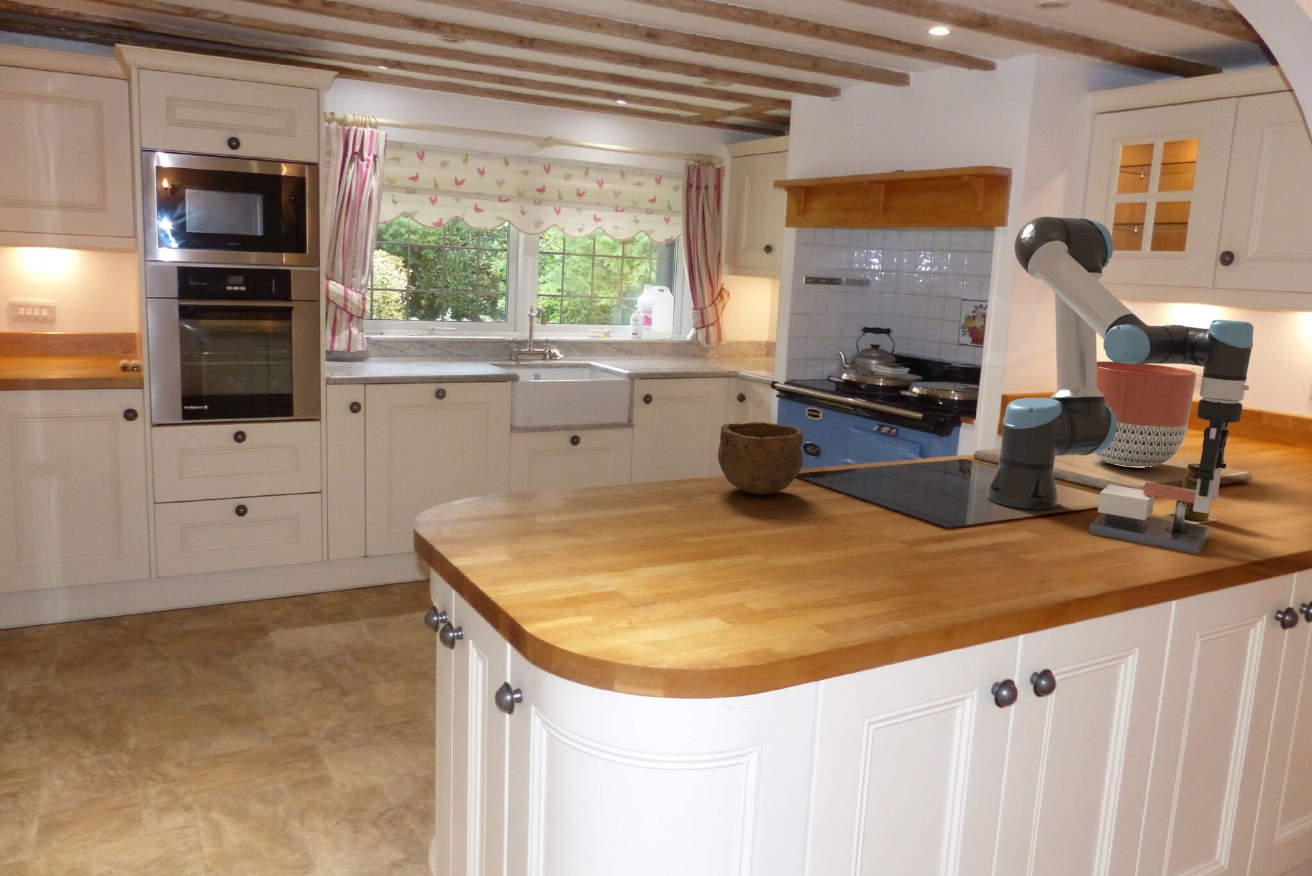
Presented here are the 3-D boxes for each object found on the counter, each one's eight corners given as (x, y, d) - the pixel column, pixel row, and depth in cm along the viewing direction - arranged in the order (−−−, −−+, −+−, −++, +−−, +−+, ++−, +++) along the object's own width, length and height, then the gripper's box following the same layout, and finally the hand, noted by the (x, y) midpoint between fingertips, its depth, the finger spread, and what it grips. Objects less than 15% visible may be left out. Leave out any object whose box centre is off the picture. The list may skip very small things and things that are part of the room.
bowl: (703, 496, 220) (707, 429, 217) (730, 478, 237) (734, 416, 234) (787, 508, 213) (792, 439, 210) (808, 490, 230) (813, 426, 227)
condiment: (1216, 520, 222) (1225, 467, 219) (1195, 525, 217) (1204, 471, 215) (1184, 512, 228) (1192, 460, 225) (1163, 516, 223) (1171, 463, 221)
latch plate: (1088, 533, 206) (1093, 500, 205) (1104, 517, 219) (1109, 486, 218) (1197, 554, 195) (1203, 519, 194) (1207, 536, 208) (1213, 504, 207)
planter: (1064, 465, 272) (1077, 366, 267) (1086, 450, 294) (1099, 358, 288) (1172, 482, 257) (1189, 378, 252) (1187, 466, 279) (1203, 369, 273)
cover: (1097, 511, 208) (1100, 492, 207) (1106, 503, 215) (1109, 484, 214) (1145, 520, 203) (1148, 500, 202) (1152, 511, 210) (1155, 492, 209)
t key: (1138, 524, 207) (1144, 483, 205) (1140, 521, 209) (1146, 482, 207) (1204, 536, 200) (1210, 494, 199) (1205, 533, 202) (1212, 492, 200)
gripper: (1237, 409, 184) (1219, 521, 188) (1248, 396, 204) (1232, 497, 208) (1191, 404, 188) (1175, 513, 192) (1207, 392, 209) (1192, 491, 212)
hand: (1205, 505), depth 200 cm, fingers open, 13 cm apart
